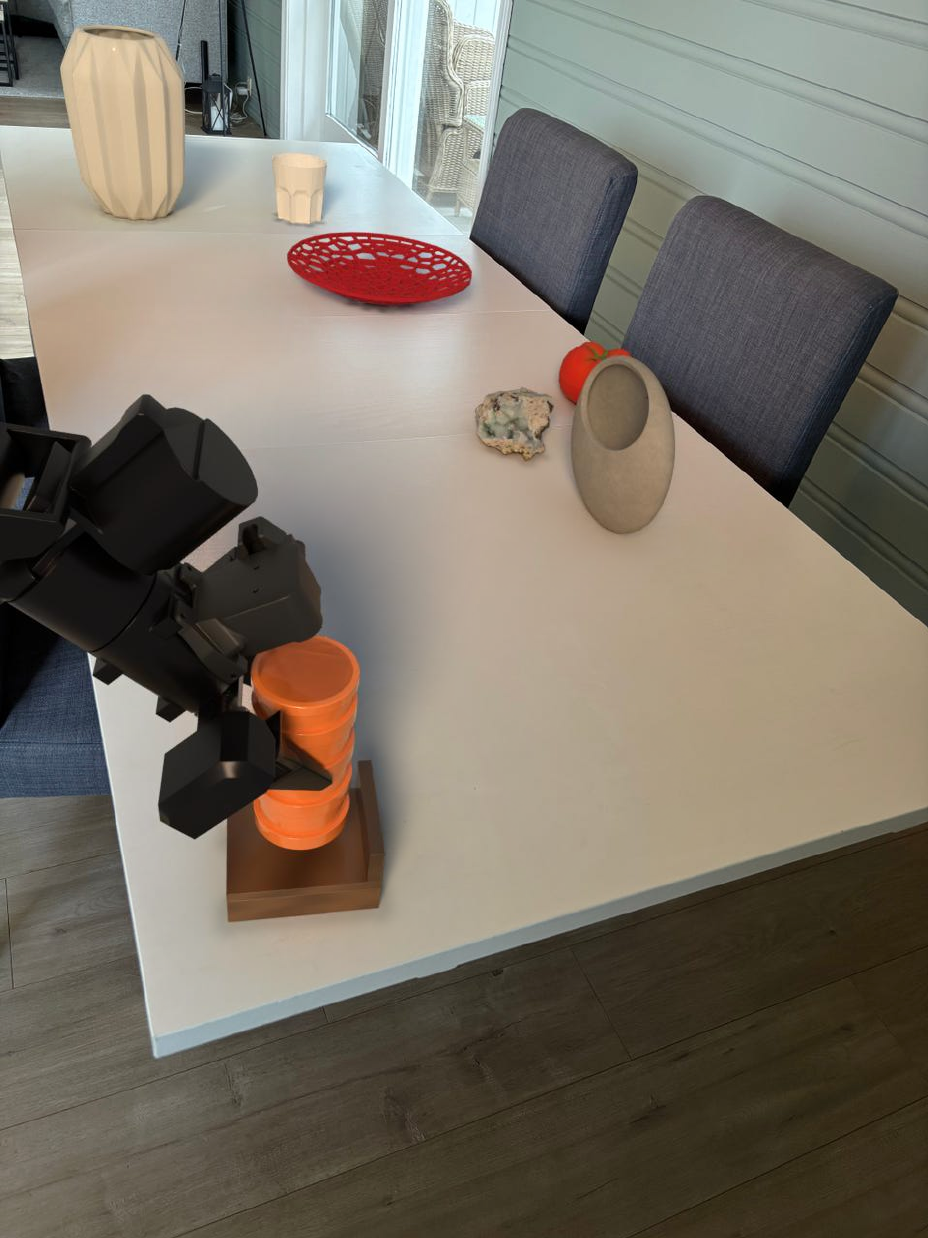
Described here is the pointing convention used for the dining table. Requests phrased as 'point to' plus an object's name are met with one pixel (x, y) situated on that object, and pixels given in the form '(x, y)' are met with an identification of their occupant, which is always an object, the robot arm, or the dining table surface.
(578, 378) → the tomato
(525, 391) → the mineral specimen
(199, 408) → the dining table surface
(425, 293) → the bowl
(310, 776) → the robot arm
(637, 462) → the planter
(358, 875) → the bookend
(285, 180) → the cup
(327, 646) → the orange ribbed tumbler
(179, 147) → the vase
